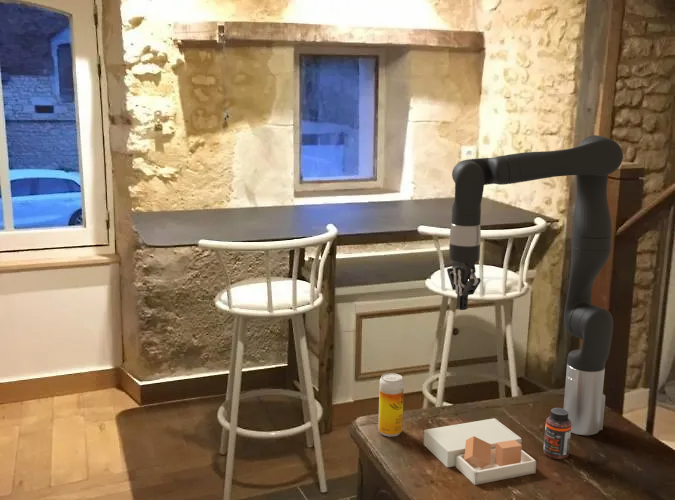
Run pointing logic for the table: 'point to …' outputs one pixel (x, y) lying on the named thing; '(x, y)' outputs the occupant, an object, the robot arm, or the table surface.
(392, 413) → the beer can
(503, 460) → the tile
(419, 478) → the table surface
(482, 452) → the orange square block
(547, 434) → the supplement bottle
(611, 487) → the table surface
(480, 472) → the tray
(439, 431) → the slab
